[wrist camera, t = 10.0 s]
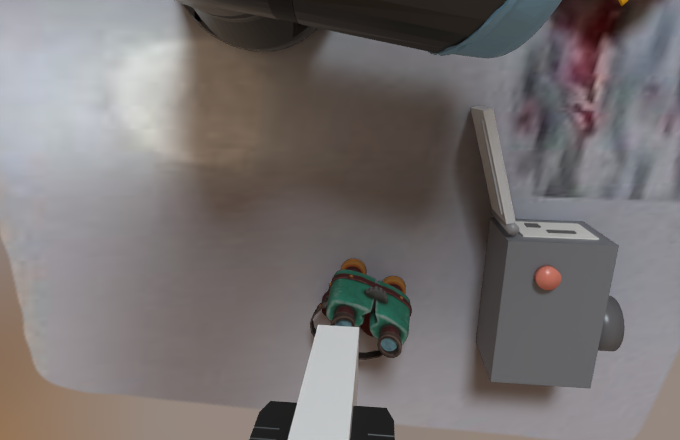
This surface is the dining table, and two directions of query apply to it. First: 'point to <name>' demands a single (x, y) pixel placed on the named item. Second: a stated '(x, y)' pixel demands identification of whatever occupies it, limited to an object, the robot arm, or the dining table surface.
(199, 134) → the dining table surface
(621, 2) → the hamburger
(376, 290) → the binoculars
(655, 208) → the dining table surface
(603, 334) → the camera body
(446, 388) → the dining table surface
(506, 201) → the side door
